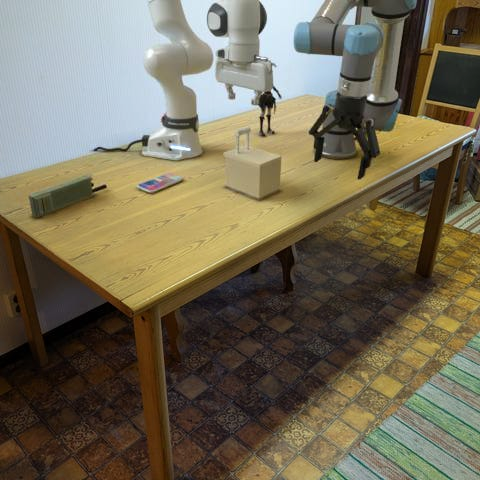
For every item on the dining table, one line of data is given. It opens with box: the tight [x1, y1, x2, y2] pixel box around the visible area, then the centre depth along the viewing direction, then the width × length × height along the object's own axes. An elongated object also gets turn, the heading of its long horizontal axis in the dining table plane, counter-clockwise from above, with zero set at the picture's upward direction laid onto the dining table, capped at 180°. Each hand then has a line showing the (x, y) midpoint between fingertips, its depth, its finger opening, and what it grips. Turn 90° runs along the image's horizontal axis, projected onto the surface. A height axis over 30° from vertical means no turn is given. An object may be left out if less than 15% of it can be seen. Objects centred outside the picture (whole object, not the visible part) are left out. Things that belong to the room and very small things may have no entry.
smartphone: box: [136, 172, 184, 194], centre depth 164 cm, size 7×1×15 cm
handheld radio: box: [28, 173, 108, 219], centre depth 150 cm, size 7×3×25 cm
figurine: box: [257, 59, 283, 137], centre depth 204 cm, size 15×6×30 cm, turn 132°
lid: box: [223, 126, 282, 168], centre depth 155 cm, size 15×10×8 cm
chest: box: [224, 156, 282, 201], centre depth 159 cm, size 14×10×10 cm
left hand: (243, 102), depth 151 cm, fingers open, 8 cm apart
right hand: (338, 168), depth 138 cm, fingers open, 13 cm apart
